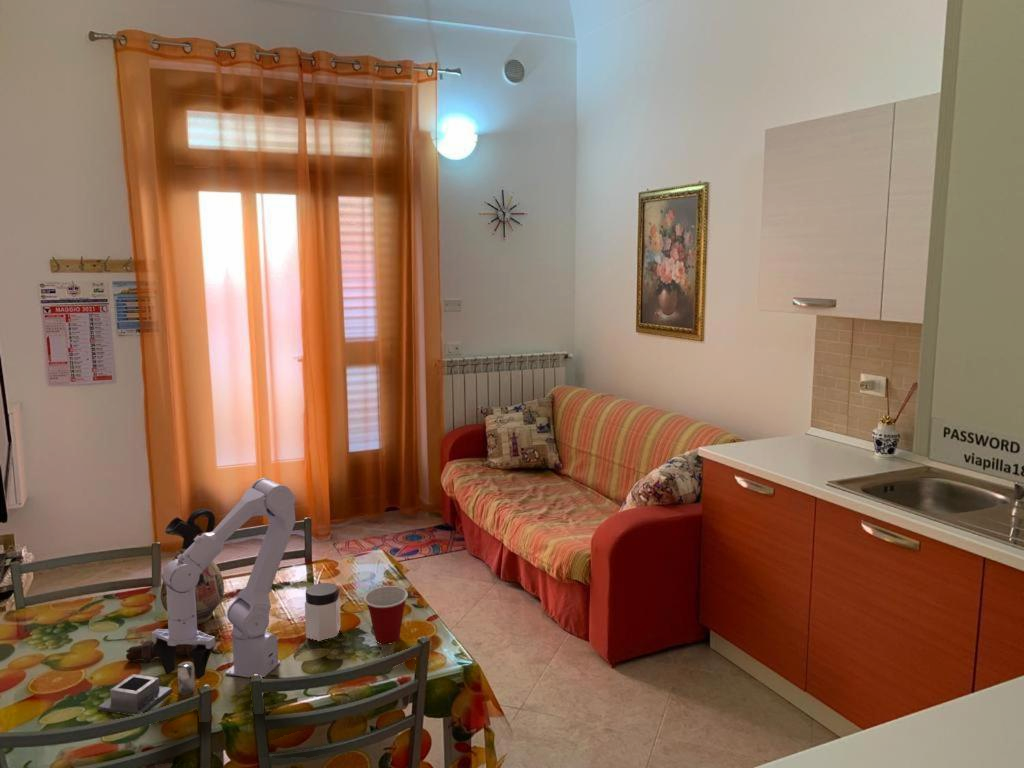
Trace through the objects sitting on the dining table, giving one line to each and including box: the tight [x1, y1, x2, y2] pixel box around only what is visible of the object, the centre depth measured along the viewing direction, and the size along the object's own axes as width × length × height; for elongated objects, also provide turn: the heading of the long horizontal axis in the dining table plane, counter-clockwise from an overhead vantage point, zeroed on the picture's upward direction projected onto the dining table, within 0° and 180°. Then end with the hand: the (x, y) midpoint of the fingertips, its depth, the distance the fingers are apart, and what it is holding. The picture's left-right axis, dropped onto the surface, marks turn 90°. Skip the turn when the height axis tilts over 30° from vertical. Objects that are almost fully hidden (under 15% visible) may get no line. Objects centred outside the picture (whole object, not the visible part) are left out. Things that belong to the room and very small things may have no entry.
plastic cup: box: [363, 585, 409, 645], centre depth 188 cm, size 11×11×12 cm
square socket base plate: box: [97, 673, 173, 716], centre depth 161 cm, size 10×10×4 cm
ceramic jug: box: [160, 507, 227, 625], centre depth 199 cm, size 17×15×30 cm
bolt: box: [125, 639, 197, 663], centre depth 179 cm, size 6×5×15 cm
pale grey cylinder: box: [176, 661, 196, 696], centre depth 165 cm, size 3×3×6 cm
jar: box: [304, 582, 341, 642], centre depth 191 cm, size 9×8×12 cm
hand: (185, 674), depth 164 cm, fingers open, 7 cm apart
